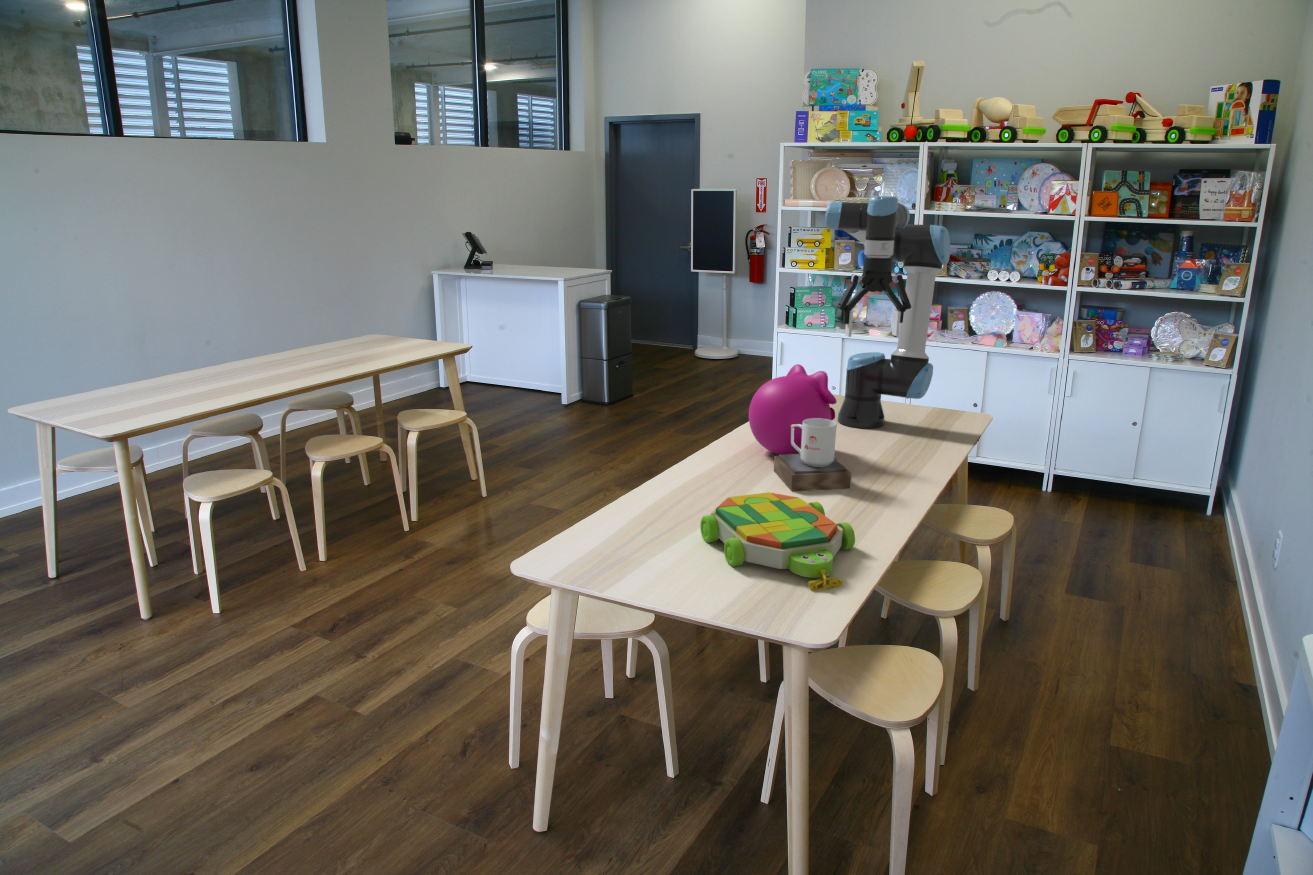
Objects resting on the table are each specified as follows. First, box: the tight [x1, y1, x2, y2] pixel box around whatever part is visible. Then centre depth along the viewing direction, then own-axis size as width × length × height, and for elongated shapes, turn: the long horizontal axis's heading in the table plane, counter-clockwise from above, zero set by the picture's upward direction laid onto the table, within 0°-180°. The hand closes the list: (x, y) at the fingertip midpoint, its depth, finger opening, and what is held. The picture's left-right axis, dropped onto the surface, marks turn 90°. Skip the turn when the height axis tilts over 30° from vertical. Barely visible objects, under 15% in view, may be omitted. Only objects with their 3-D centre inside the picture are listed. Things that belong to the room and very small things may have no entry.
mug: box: [791, 418, 837, 467], centre depth 226 cm, size 12×9×11 cm
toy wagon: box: [699, 491, 856, 592], centre depth 184 cm, size 29×38×7 cm
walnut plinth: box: [773, 454, 852, 492], centre depth 229 cm, size 16×16×5 cm
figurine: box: [748, 363, 838, 455], centre depth 247 cm, size 23×24×25 cm
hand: (871, 335), depth 233 cm, fingers open, 13 cm apart
